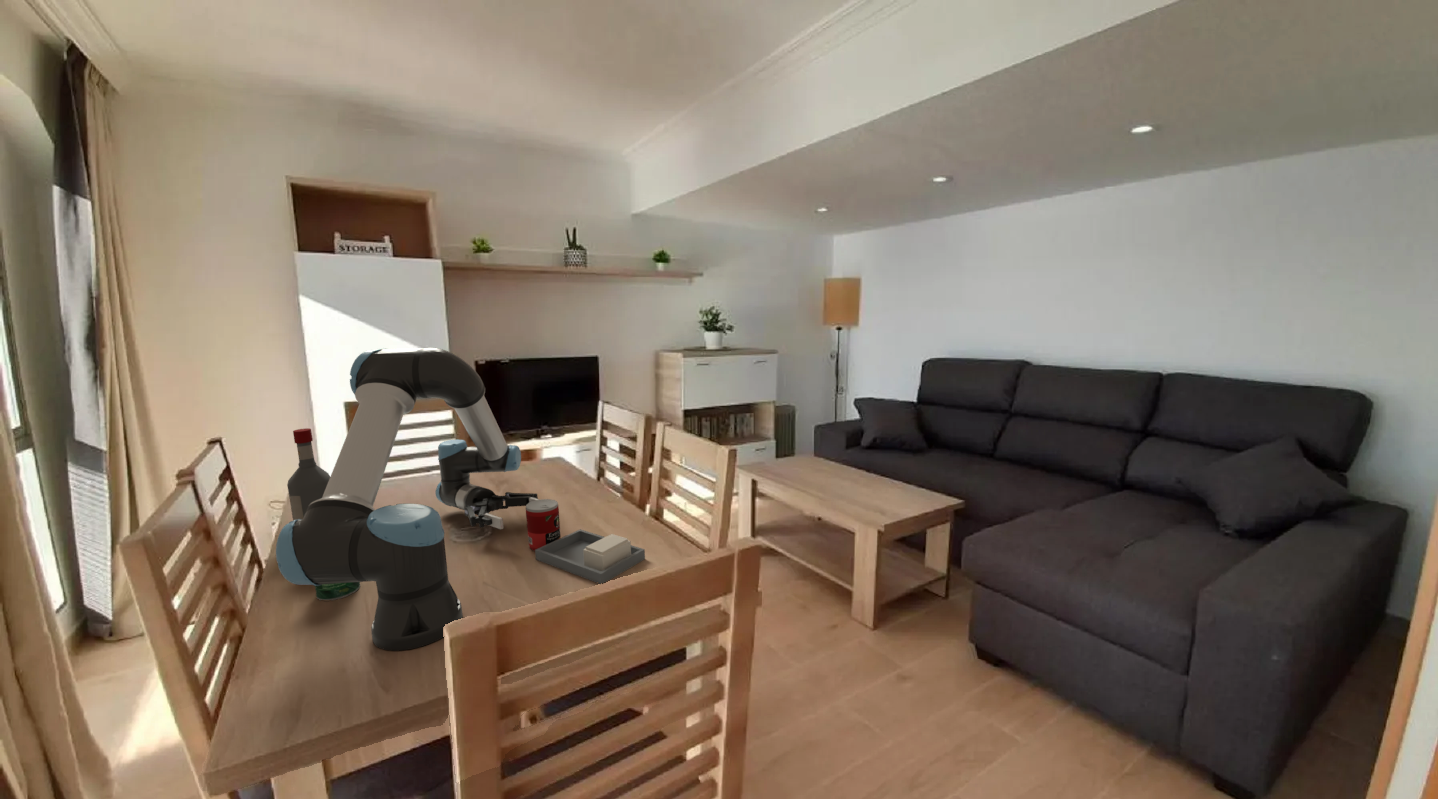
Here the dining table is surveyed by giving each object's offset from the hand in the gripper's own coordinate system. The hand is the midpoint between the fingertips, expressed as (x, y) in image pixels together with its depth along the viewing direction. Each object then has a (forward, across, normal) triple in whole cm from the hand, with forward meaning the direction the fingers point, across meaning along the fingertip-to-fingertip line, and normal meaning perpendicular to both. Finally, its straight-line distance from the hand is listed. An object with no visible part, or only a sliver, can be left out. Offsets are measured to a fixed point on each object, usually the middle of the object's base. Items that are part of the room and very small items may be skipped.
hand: (524, 514), depth 142 cm
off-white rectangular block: (+30, 0, -6) cm, 31 cm away
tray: (+24, 0, -6) cm, 25 cm away
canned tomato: (-12, +39, -7) cm, 41 cm away
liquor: (-46, +30, -7) cm, 55 cm away
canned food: (+8, 0, -7) cm, 10 cm away
